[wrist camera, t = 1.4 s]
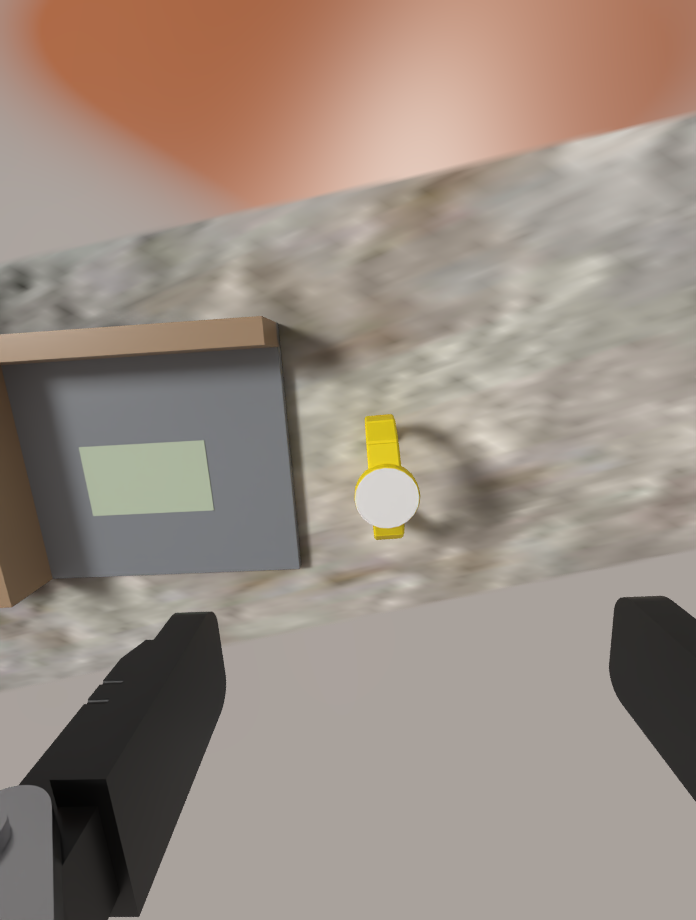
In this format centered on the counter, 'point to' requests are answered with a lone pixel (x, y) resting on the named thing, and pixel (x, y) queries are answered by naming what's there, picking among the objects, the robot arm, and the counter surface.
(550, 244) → the counter surface
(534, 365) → the counter surface
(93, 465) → the corner tray
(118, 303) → the counter surface
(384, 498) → the watch
